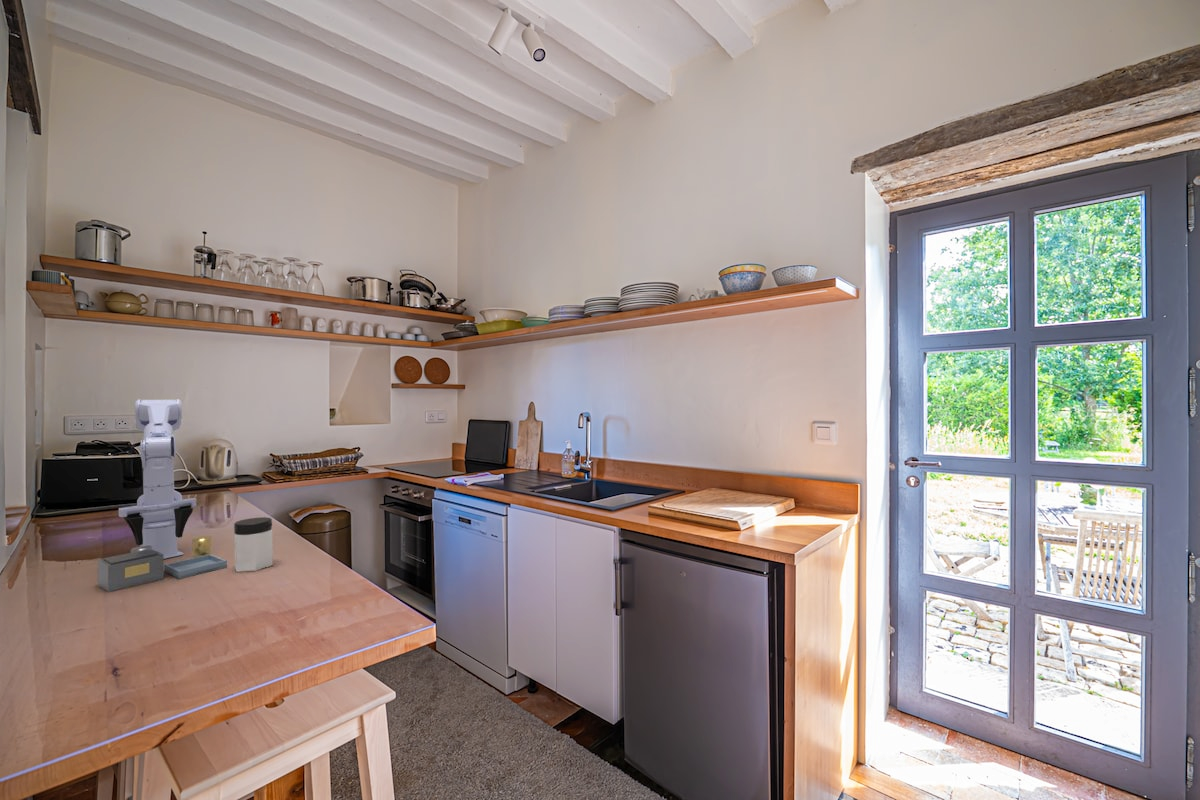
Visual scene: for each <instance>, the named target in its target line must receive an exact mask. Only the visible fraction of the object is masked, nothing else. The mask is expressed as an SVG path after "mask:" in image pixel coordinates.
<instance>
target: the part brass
mask: <svg viewBox="0 0 1200 800" xmlns="http://www.w3.org/2000/svg"><path fill="white" fill-rule="evenodd" d="M191 542H192V547H191V548H192V558H196V557H201V556H205V555H210V554H212V536H210V535H207V536H198V537H194V538H192V541H191Z"/></svg>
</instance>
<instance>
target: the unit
mask: <svg viewBox="0 0 1200 800" xmlns="http://www.w3.org/2000/svg"><path fill="white" fill-rule="evenodd" d="M164 560H165V559H164V556H163V554H162V553H159V552H157V551H155V550H153V549H150V550H149V549H148V550H143V551H138V552H133V553H131V552H129V553H123V554H119V555H113V556H109V557H104V558H101V559H97V586H98V587H100V588H101V589H103V590H105V592H108V593H111V592H115V591H118V590H123V589H127V588H131V587H135V586H139V585H144V584H147V583H151V582H155V581H156V582H157V581H159V580H161V581H162V580H164V578H165V572H164V564H165V563H164Z"/></svg>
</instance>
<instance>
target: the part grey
mask: <svg viewBox="0 0 1200 800" xmlns="http://www.w3.org/2000/svg"><path fill="white" fill-rule="evenodd" d="M148 549H149V550H150V549H152V546H140V545H139V546H136V547H132V548H131V549H130V553H133V552H138V551H143V550H148Z"/></svg>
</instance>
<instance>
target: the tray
mask: <svg viewBox="0 0 1200 800" xmlns="http://www.w3.org/2000/svg"><path fill="white" fill-rule="evenodd" d="M225 568H228V560H227V559H224V558H222V557H220V556H216V555H214V554H212V553H211V554H210V555H205V556H201V557H196V558H193V557H191V558H186V559H183V560H178V561H174V562H171V563H170V562H169V563H164V573H166V574H169V575H171V576H173V577H175V578H176V579H179V580H180V579H184V578H189V577H193V576H197V575H200V574H201V575H202V574H204V573H205V574H206V573H208V572H213V571H218V570H221V569H225Z"/></svg>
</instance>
